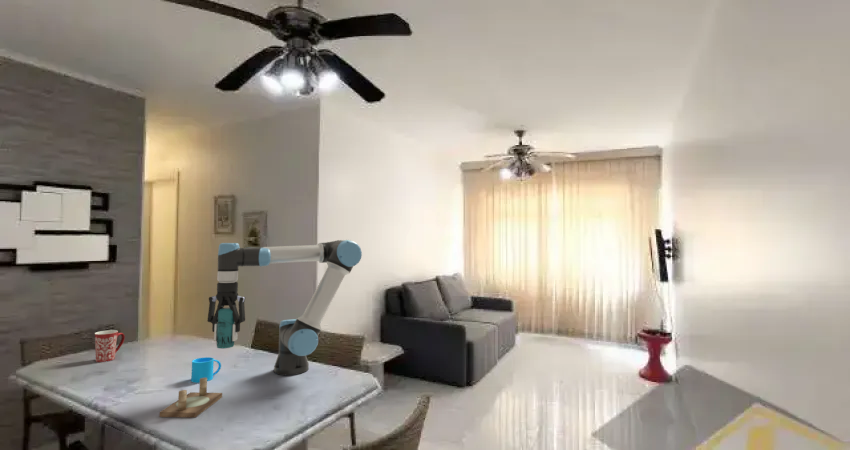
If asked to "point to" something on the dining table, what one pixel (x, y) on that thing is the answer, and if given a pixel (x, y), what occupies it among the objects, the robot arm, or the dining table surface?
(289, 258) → the robot arm
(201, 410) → the wooden board with pegs
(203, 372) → the mug
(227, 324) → the beverage bottle
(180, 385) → the dining table surface
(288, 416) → the dining table surface
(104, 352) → the mug
